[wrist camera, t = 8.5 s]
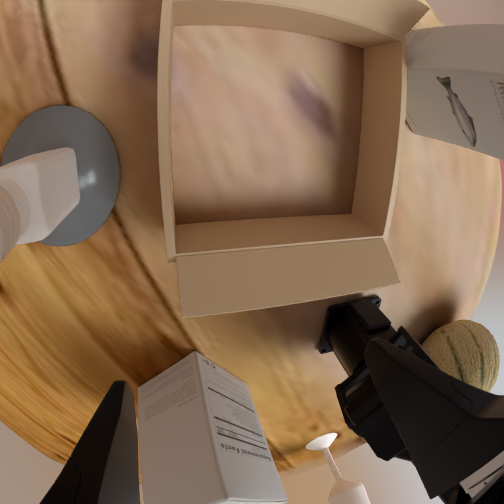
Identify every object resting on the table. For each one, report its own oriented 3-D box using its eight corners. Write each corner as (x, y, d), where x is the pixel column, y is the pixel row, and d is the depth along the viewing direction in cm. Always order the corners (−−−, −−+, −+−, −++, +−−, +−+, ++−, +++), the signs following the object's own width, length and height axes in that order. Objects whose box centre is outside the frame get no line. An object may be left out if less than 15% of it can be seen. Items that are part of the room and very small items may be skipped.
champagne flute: (336, 440, 47) (382, 528, 26) (306, 452, 46) (347, 544, 25) (337, 428, 44) (389, 527, 23) (304, 442, 43) (351, 545, 22)
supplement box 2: (366, 71, 17) (509, 71, 6) (407, 29, 16) (528, 23, 5) (411, 136, 21) (534, 177, 10) (446, 91, 19) (555, 113, 8)
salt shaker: (29, 154, 14) (-60, 195, 6) (77, 144, 15) (-2, 177, 6) (37, 209, 16) (-36, 280, 7) (84, 202, 16) (22, 276, 8)
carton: (351, 239, 24) (404, 283, 17) (171, 254, 20) (172, 320, 14) (368, 25, 15) (434, 9, 9) (167, -2, 12) (165, -57, 6)
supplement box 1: (192, 415, 31) (213, 524, 18) (135, 386, 26) (141, 517, 13) (250, 383, 30) (292, 502, 17) (196, 347, 25) (227, 502, 12)
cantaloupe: (470, 307, 38) (523, 358, 25) (424, 370, 43) (466, 424, 30) (437, 295, 32) (509, 364, 19) (379, 374, 37) (429, 447, 24)
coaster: (128, 235, 19) (127, 239, 18) (18, 248, 17) (15, 252, 16) (117, 93, 14) (115, 92, 14) (-2, 124, 12) (-7, 125, 12)
